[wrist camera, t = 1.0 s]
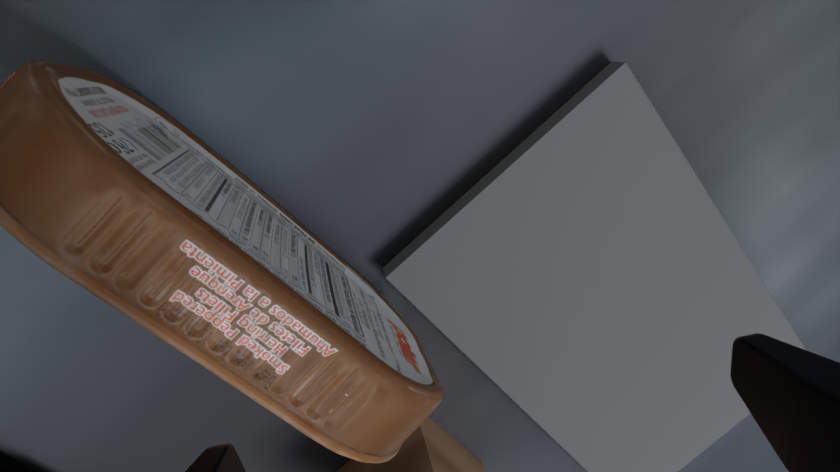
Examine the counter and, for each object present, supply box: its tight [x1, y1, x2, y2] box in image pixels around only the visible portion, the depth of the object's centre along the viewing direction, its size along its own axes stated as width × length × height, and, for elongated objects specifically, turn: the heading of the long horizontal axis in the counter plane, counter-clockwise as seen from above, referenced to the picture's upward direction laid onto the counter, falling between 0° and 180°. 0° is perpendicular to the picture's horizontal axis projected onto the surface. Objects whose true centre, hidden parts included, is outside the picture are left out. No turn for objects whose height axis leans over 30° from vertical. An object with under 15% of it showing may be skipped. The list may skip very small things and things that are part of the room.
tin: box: [0, 60, 444, 463], centre depth 16 cm, size 15×3×8 cm, turn 44°
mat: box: [382, 62, 806, 472], centre depth 23 cm, size 12×19×1 cm, turn 41°
